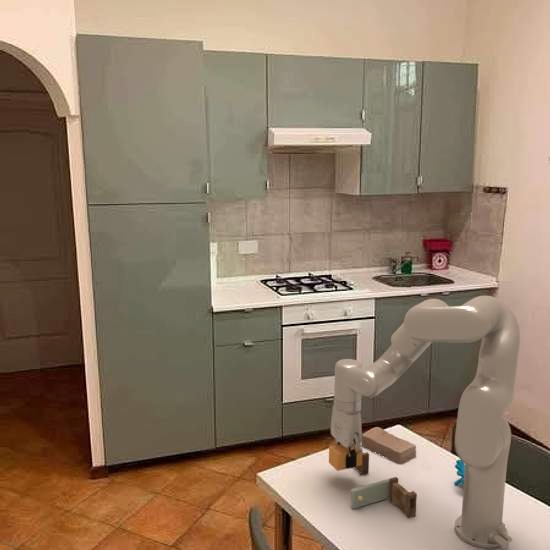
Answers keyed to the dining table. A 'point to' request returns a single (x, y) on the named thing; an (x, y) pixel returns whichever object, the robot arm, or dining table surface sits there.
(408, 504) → the wall frame
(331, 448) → the orange rectangular block
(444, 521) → the dining table surface
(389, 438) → the brick
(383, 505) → the dining table surface
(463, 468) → the blue green toy
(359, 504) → the door
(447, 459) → the dining table surface
